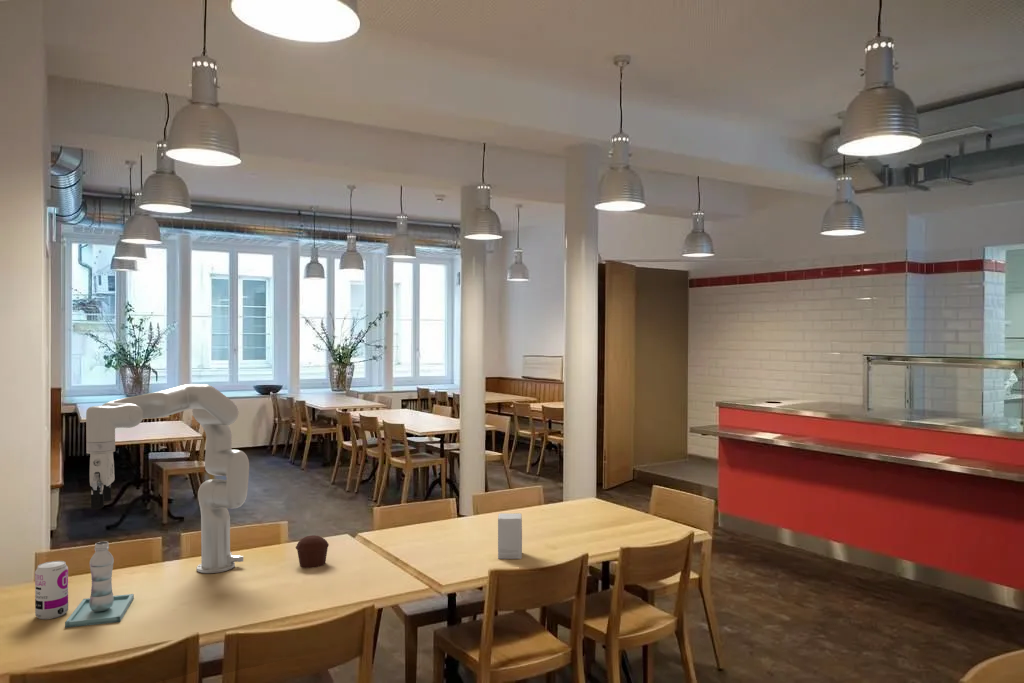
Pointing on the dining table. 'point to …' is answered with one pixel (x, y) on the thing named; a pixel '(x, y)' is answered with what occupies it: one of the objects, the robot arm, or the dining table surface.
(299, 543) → the muffin
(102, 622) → the tray
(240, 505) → the robot arm
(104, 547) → the plastic bottle
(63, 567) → the supplement can
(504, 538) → the supplement box
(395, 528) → the dining table surface
